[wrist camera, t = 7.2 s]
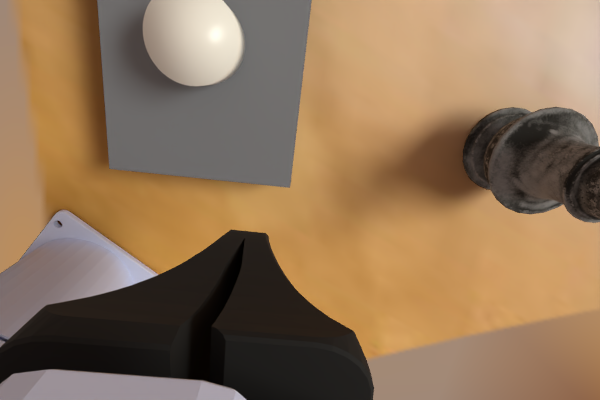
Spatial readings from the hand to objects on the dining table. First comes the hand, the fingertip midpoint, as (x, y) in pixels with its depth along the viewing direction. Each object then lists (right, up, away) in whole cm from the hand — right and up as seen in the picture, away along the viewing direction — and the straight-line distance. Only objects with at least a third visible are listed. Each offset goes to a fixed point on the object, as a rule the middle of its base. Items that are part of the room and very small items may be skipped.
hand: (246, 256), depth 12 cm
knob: (-3, +10, +6) cm, 12 cm away
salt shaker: (+15, +5, +10) cm, 19 cm away
